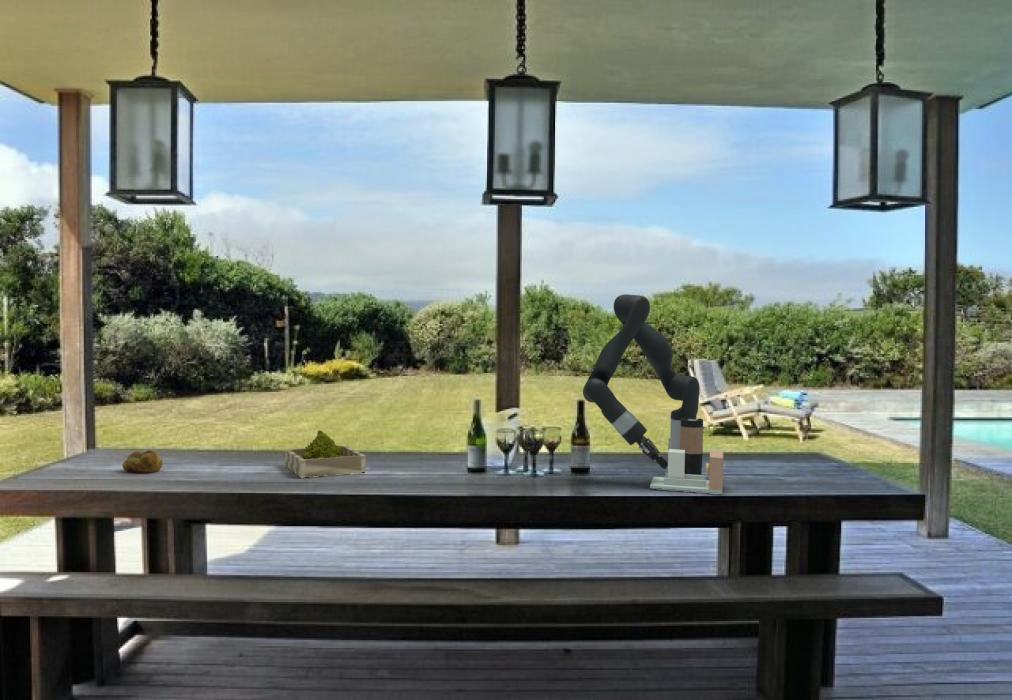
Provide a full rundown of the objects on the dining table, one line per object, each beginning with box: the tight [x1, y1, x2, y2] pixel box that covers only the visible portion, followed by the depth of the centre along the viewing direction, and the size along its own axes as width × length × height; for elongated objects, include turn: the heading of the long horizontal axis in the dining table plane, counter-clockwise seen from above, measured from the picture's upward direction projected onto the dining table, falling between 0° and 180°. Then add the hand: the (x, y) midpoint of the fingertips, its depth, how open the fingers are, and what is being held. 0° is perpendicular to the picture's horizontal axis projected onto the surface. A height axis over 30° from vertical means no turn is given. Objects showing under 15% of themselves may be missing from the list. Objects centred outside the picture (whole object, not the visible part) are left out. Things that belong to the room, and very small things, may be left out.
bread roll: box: [122, 449, 163, 474], centre depth 268 cm, size 13×10×8 cm
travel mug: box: [680, 418, 704, 475], centre depth 269 cm, size 8×8×20 cm
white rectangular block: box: [667, 449, 685, 479], centre depth 254 cm, size 5×6×10 cm
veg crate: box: [284, 445, 367, 479], centre depth 275 cm, size 23×22×6 cm
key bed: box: [649, 449, 724, 494], centre depth 253 cm, size 22×14×12 cm, turn 75°
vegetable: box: [301, 429, 345, 460], centre depth 275 cm, size 15×16×15 cm
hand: (666, 467), depth 254 cm, fingers closed
